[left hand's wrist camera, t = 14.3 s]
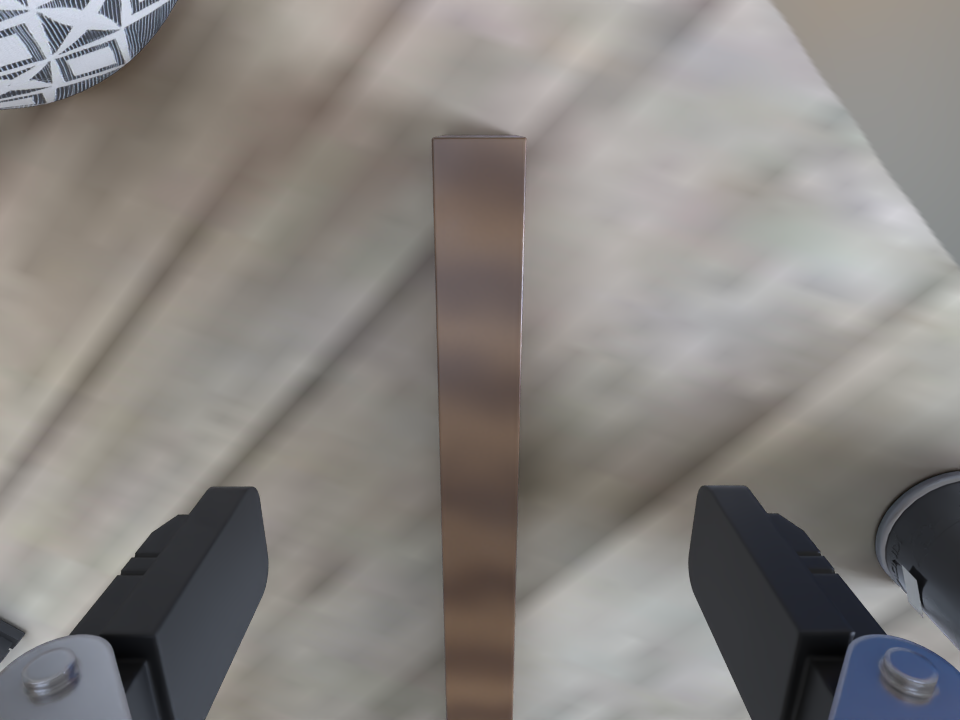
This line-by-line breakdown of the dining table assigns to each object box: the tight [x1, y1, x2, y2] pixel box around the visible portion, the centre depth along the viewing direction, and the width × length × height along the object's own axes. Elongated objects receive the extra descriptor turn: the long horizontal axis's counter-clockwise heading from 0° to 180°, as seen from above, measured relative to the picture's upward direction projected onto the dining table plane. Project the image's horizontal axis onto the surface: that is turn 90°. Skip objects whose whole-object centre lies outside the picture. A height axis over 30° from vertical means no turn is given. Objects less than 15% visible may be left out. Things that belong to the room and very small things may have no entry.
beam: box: [432, 135, 527, 720], centre depth 40 cm, size 57×4×7 cm, turn 0°
